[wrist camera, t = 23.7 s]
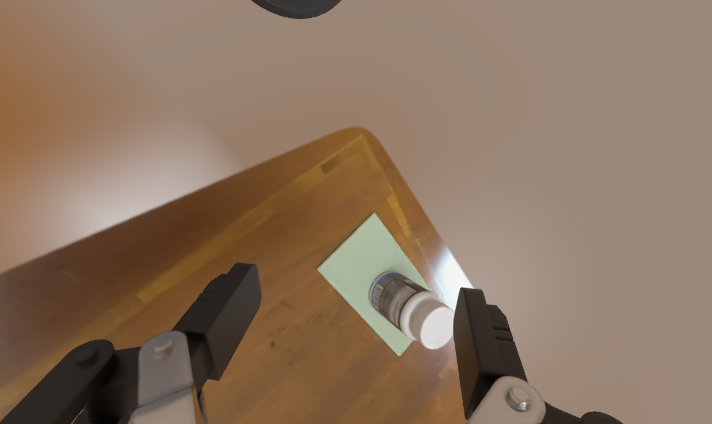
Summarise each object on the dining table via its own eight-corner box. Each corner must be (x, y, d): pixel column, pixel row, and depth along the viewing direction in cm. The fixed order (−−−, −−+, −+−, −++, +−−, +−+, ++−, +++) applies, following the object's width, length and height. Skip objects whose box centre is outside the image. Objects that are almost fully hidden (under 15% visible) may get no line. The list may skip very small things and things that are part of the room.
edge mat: (316, 268, 32) (317, 269, 32) (373, 212, 34) (374, 212, 34) (397, 355, 39) (399, 357, 39) (441, 304, 41) (443, 305, 41)
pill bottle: (411, 287, 38) (467, 322, 31) (384, 319, 37) (435, 363, 30) (389, 261, 36) (444, 292, 28) (359, 294, 35) (408, 335, 27)
